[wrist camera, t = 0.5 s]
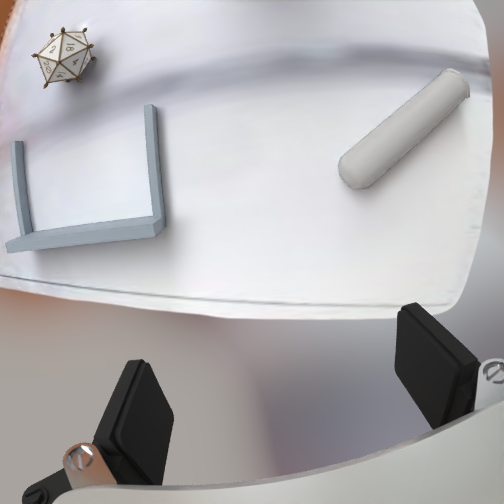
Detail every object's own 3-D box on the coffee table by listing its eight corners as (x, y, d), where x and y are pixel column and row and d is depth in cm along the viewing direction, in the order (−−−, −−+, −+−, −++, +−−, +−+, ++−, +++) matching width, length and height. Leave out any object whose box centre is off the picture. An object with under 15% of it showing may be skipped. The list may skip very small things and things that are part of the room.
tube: (364, 204, 35) (474, 101, 31) (344, 171, 32) (463, 69, 28) (343, 189, 40) (449, 95, 36) (323, 159, 37) (437, 66, 33)
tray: (18, 142, 34) (-7, 142, 28) (155, 106, 34) (142, 97, 28) (30, 242, 38) (7, 253, 32) (166, 226, 39) (154, 237, 33)
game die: (97, 74, 35) (91, 93, 29) (45, 82, 32) (27, 103, 26) (100, 19, 29) (93, 23, 23) (45, 27, 26) (24, 36, 20)
